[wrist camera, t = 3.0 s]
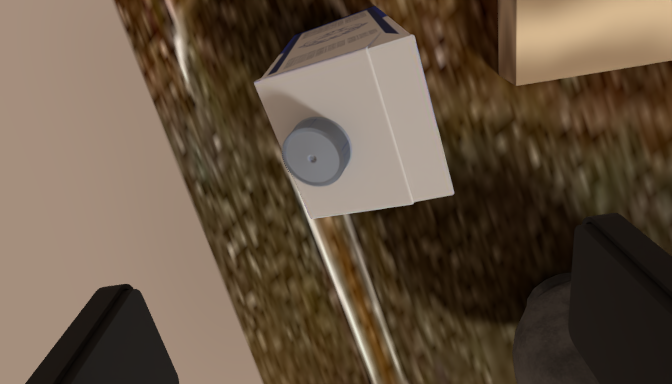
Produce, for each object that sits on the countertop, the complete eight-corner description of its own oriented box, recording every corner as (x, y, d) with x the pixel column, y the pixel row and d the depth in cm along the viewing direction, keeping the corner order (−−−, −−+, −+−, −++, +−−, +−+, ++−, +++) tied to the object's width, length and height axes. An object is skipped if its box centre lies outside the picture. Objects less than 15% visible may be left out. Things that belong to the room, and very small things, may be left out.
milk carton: (399, 91, 37) (456, 198, 19) (323, 116, 38) (308, 241, 20) (375, 3, 34) (414, 32, 16) (292, 33, 35) (243, 92, 17)
